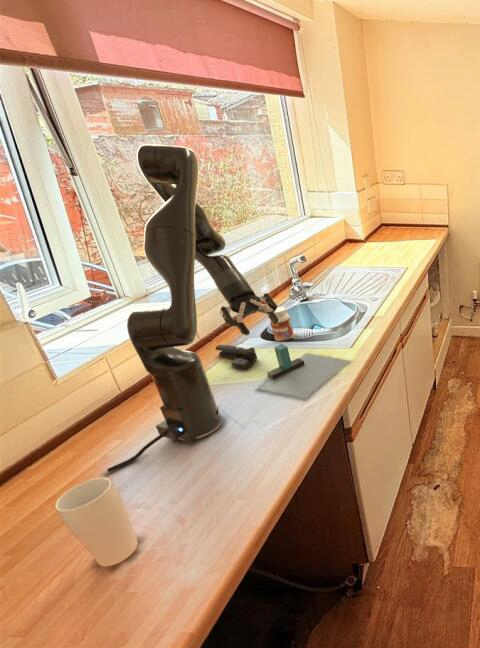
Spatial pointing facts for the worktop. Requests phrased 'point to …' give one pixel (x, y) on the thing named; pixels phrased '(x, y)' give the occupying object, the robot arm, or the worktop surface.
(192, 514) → the worktop surface
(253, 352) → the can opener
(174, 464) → the worktop surface
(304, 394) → the cloth mat
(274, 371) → the wiper
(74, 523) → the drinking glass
